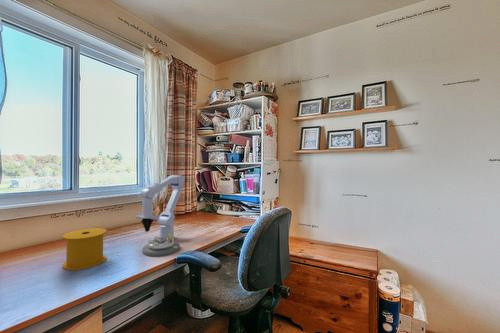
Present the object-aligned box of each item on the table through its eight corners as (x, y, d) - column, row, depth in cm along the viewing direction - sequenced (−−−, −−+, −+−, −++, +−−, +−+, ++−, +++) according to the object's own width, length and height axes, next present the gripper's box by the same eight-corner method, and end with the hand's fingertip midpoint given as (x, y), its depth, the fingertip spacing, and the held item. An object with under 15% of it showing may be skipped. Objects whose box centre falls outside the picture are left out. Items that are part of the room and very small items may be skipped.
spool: (110, 262, 116) (110, 232, 116) (64, 274, 103) (65, 240, 103) (101, 252, 129) (102, 226, 129) (60, 261, 116) (60, 232, 116)
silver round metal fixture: (142, 249, 129) (143, 235, 129) (157, 241, 142) (157, 228, 142) (166, 251, 126) (166, 237, 126) (178, 242, 140) (178, 230, 140)
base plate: (155, 243, 146) (155, 239, 146) (185, 245, 143) (185, 241, 143) (134, 255, 126) (134, 250, 126) (168, 257, 123) (168, 253, 123)
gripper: (132, 209, 136) (132, 232, 136) (154, 210, 134) (154, 233, 134) (139, 207, 143) (139, 229, 143) (161, 208, 141) (161, 230, 141)
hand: (147, 231), depth 139 cm, fingers closed
